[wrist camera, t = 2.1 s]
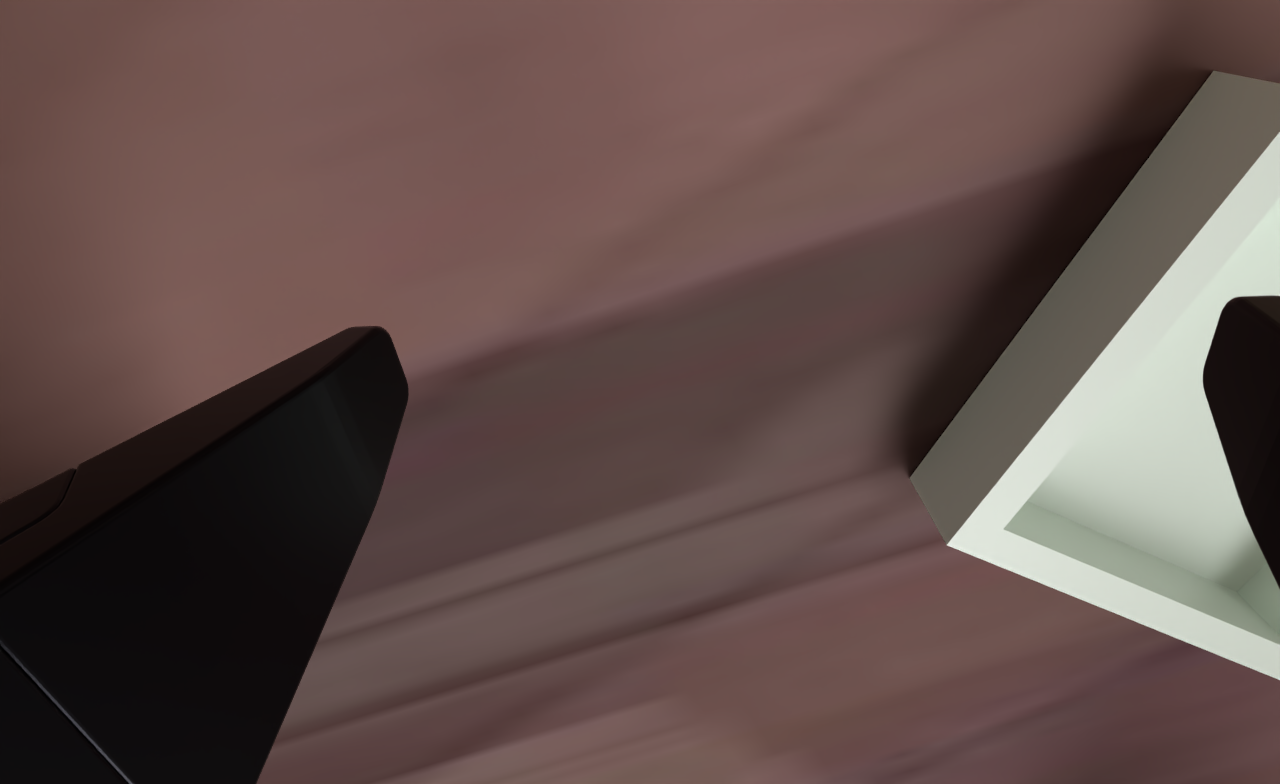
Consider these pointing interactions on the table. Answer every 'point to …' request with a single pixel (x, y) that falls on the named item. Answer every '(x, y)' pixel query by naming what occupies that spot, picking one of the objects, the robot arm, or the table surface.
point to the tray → (1134, 399)
